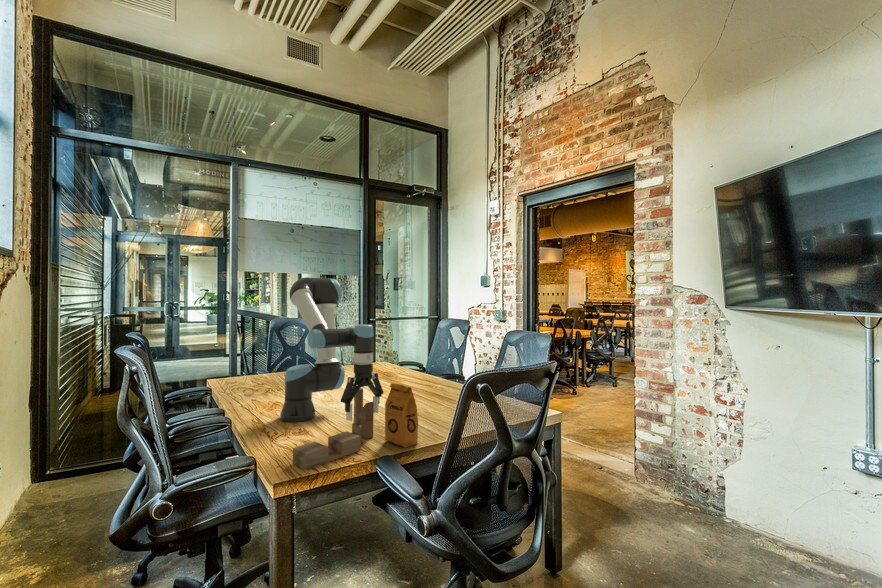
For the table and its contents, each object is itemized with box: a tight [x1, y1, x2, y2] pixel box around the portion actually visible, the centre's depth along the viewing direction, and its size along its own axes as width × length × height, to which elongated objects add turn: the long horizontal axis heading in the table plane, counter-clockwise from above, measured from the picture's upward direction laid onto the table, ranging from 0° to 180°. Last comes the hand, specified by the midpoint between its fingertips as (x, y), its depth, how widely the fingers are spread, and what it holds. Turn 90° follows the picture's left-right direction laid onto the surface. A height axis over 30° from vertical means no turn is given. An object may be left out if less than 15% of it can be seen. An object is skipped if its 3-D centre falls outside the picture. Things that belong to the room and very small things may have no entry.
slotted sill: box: [292, 431, 362, 471], centre depth 139 cm, size 8×22×5 cm, turn 141°
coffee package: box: [384, 382, 419, 449], centre depth 153 cm, size 10×12×22 cm
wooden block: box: [351, 387, 375, 440], centre depth 161 cm, size 4×11×18 cm, turn 42°
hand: (362, 416), depth 161 cm, fingers open, 13 cm apart
